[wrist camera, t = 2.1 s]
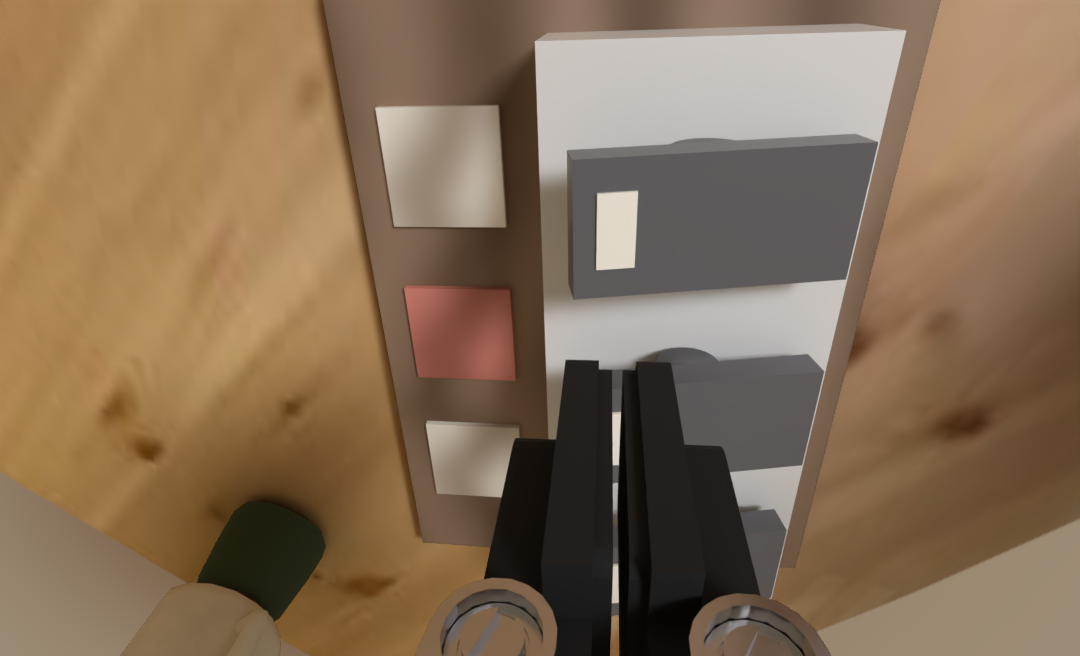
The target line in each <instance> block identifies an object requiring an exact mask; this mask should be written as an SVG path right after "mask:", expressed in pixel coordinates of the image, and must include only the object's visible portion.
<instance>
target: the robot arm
mask: <svg viewBox="0 0 1080 656" xmlns="http://www.w3.org/2000/svg"><path fill="white" fill-rule="evenodd" d="M617 521H618V590H619V656H831V655H830V653H829V651H828V649H827V647H826V646H825V644H824V643H823V641H822V640H821V638H820V637H819V635H818V634H817V632H816V631H815V629H814V628H813V627H812V626H811V625H810V624H808V623H807V622H806V621H805V620H804V619H803V618H802V617H801V616H800V615H799V614H798V613H796V612H795V611H793V610H791V609H790V608H788V607H786V606H784V605H783V604H781V603H779V602H778V601H775V600H772V599H768V598H765V597H762V596H761V595H760V591H759V587H758V583H757V579H756V575H755V571H754V567H753V563H752V559H751V555H750V551H749V547H748V543H747V539H746V535H745V531H744V527H743V523H742V519H741V515H740V511H739V507H738V503H737V499H736V495H735V491H734V487H733V483H732V479H731V475H730V471H729V467H728V463H727V459H726V455H725V452H724V449H723V448H722V447H721V446H708V445H685V444H684V438H683V432H682V425H681V419H680V413H679V407H678V401H677V395H676V389H675V383H674V377H673V371H672V365H671V363H670V362H641V361H636V367H635V370H623V374H622V397H621V422H620V447H619V472H618V501H617ZM612 586H613V437H612V370H608V369H599V360H566V361H565V368H564V377H563V385H562V393H561V402H560V410H559V418H558V426H557V435H556V439H531V438H516V439H515V440H514V443H513V446H512V451H511V455H510V460H509V465H508V469H507V474H506V479H505V483H504V488H503V493H502V497H501V502H500V507H499V511H498V516H497V521H496V525H495V530H494V535H493V539H492V544H491V549H490V553H489V558H488V563H487V567H486V572H485V577H484V580H479V581H474V582H472V583H470V584H468V585H466V586H464V587H462V588H460V589H458V590H456V591H455V592H454V593H453V594H451V595H450V596H449V597H448V598H447V599H446V600H445V601H444V602H442V603H441V605H440V606H439V608H438V609H437V611H436V613H435V614H434V616H433V617H432V619H431V621H430V623H429V625H428V627H427V630H426V632H425V634H424V636H423V638H422V641H421V643H420V645H419V647H418V649H417V652H416V654H415V656H610V638H611V612H612Z"/></svg>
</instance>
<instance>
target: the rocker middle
mask: <svg viewBox="0 0 1080 656" xmlns="http://www.w3.org/2000/svg"><path fill="white" fill-rule="evenodd" d="M655 362H670V363H671V365H672V371H673V377H674V383H675V389H676V395H677V401H678V407H679V413H680V419H681V425H682V432H683V438H684V444H685V445H708V446H721V447H722V448H723V449H724V452H725V455H726V459H727V463H728V467H729V471H730V472H737V471H748V470H758V469H769V468H779V467H790V466H800V465H802V464H803V460H804V455H805V451H806V447H807V443H808V438H809V434H810V430H811V426H812V421H813V417H814V413H815V409H816V404H817V400H818V396H819V392H820V388H821V383H822V379H823V375H824V371H823V370H822V369H821V367H820V366H819V365H818V364H817V363H816V362H815V361H814V360H813V359H812V358H811V357H810V356H809V355H808V354H802V355H790V356H777V357H765V358H753V359H741V360H729V361H718V360H717V359H716V358H715V357H714V356H712V355H711V354H709V353H707V352H705V351H702V350H699V349H695V348H687V347H678V348H671V349H667V350H665V351H663V352H661V353H660V354H658V355H657V357H656V359H655ZM623 370H635V368H631V369H619V370H612V437H613V483H618V472H619V447H620V422H621V397H622V374H623Z"/></svg>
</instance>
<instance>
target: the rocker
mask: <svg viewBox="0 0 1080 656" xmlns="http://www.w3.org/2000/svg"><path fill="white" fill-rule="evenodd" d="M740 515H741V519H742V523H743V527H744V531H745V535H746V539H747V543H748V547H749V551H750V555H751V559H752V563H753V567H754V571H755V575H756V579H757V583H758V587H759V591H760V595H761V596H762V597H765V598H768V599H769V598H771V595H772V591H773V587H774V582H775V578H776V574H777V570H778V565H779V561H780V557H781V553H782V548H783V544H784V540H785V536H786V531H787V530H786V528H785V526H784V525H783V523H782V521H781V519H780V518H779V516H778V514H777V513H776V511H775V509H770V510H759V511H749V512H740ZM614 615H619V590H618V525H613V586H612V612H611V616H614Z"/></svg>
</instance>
